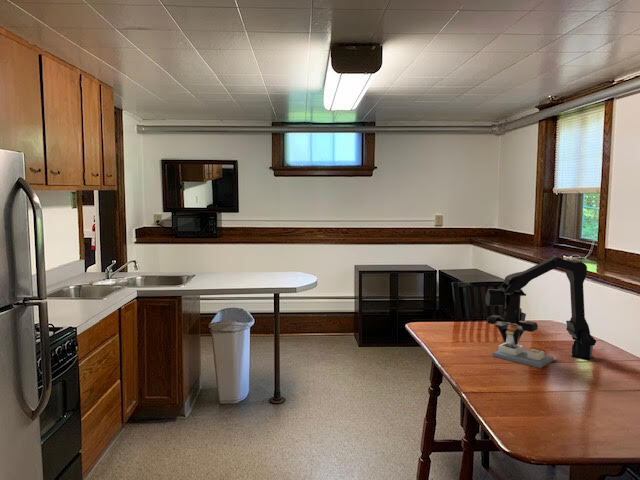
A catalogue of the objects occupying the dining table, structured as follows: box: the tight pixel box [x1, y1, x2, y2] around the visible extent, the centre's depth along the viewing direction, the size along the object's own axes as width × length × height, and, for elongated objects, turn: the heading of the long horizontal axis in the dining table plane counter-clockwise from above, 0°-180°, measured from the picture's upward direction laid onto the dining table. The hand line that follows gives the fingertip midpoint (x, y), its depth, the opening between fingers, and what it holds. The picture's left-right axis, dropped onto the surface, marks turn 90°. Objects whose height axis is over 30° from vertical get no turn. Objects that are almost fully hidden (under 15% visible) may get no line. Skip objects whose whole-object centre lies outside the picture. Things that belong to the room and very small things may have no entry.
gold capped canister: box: [505, 327, 517, 349], centre depth 194 cm, size 5×5×8 cm
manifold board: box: [492, 342, 554, 369], centre depth 191 cm, size 19×13×4 cm
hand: (511, 343), depth 195 cm, fingers closed on gold capped canister, 4 cm apart
